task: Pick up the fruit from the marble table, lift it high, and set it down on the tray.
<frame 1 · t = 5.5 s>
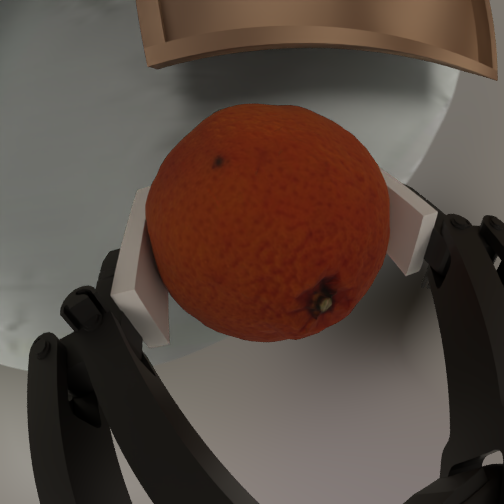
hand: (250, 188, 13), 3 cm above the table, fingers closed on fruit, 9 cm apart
fruit: (245, 181, 13), point 3 cm above the table, touching gripper
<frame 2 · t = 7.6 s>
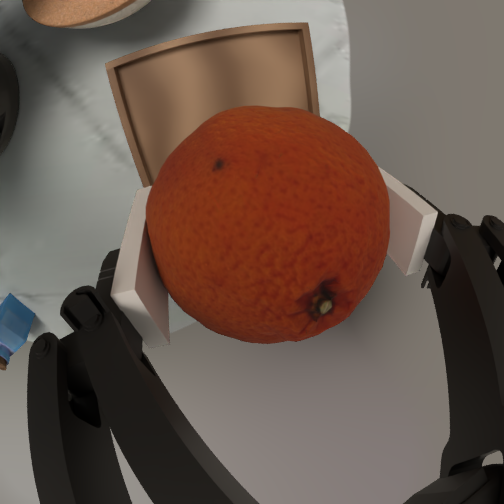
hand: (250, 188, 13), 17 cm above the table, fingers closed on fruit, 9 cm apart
perfume bottle: (17, 309, 34), on the table
tray: (217, 112, 25), on the table
fruit: (245, 182, 13), point 17 cm above the table, touching gripper
when the fingers open (7 cm above the table, at t = 10.1 s): fruit drops 1 cm, resting on tray.
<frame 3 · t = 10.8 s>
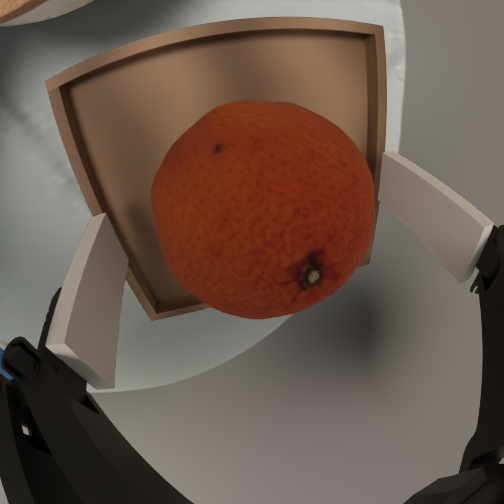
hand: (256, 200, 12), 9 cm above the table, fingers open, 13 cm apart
tray: (227, 145, 18), on the table
fruit: (242, 173, 14), point 6 cm above the table, touching tray
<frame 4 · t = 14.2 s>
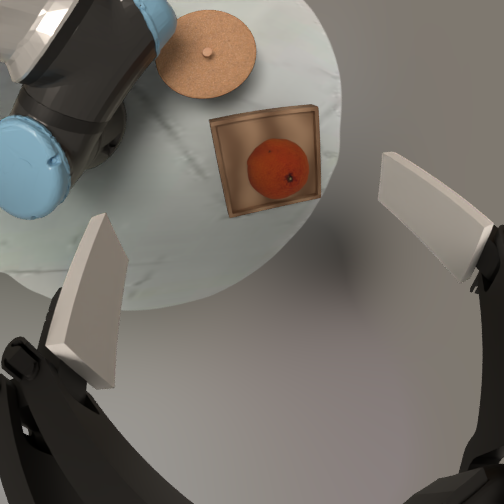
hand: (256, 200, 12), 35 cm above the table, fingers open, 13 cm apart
tray: (260, 149, 45), on the table
lidded bowl: (202, 56, 33), on the table
fruit: (269, 159, 41), point 6 cm above the table, touching tray
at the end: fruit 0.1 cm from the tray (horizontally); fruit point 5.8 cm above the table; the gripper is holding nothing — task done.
